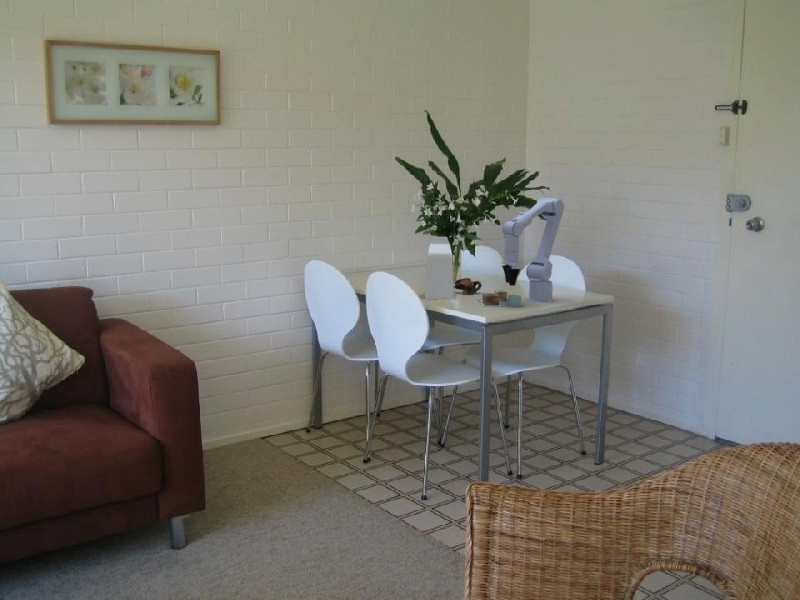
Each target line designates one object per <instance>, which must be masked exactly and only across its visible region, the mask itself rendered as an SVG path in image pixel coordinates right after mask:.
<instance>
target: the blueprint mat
mask: <svg viewBox="0 0 800 600" xmlns="http://www.w3.org/2000/svg"><path fill="white" fill-rule="evenodd" d="M476 301H477V302H478V303H479V304H480V305H481V306H482V307H483V308H525V306H524V305H523V303H521V306H509V305H508V298H507V302H499V306H485V305H484V304H483V303H482V298H480V299H476Z"/></svg>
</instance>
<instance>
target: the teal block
mask: <svg viewBox="0 0 800 600" xmlns="http://www.w3.org/2000/svg"><path fill="white" fill-rule="evenodd" d="M507 299H508V305H509V306H521V304H522V296H521V295H520V294H507Z"/></svg>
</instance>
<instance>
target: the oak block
mask: <svg viewBox="0 0 800 600" xmlns="http://www.w3.org/2000/svg"><path fill="white" fill-rule="evenodd" d="M494 293H497V294H498V295H499V296H500V297H499V302H507V299H508V291H507V290H504V289H503V290H501V289H500V290H499V289H498V290H494Z"/></svg>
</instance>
